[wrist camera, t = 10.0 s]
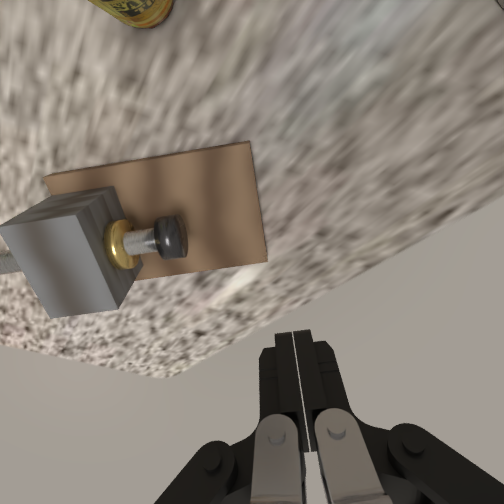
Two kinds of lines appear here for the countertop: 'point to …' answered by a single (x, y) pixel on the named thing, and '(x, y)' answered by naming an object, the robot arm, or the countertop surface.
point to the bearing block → (136, 224)
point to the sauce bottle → (137, 11)
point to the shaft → (130, 243)
